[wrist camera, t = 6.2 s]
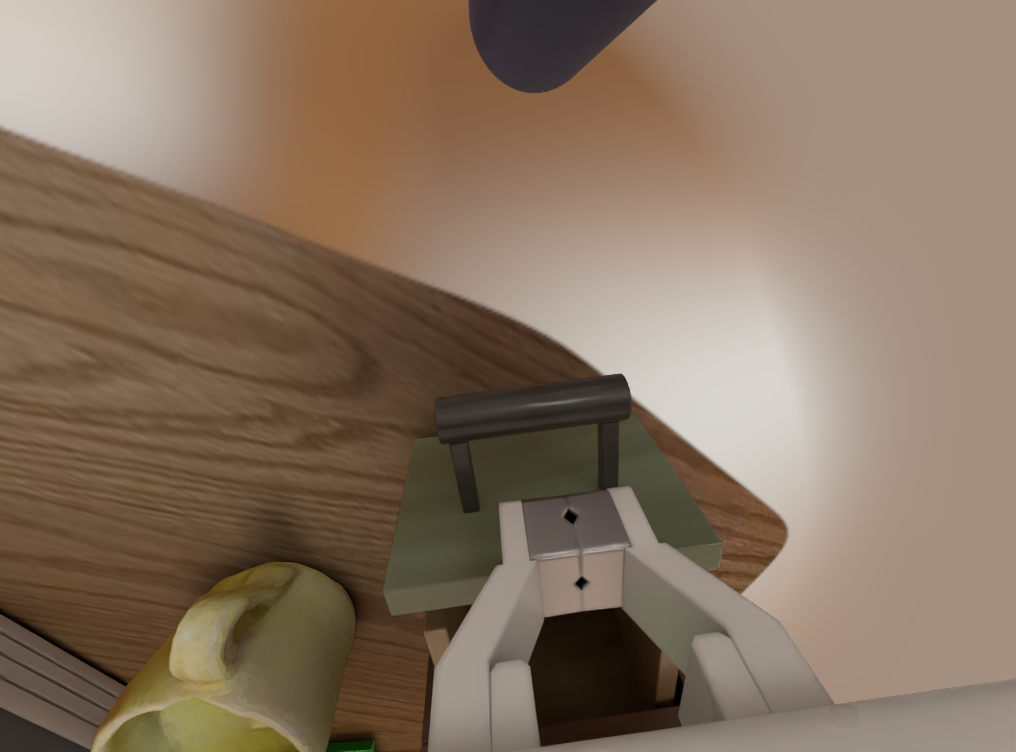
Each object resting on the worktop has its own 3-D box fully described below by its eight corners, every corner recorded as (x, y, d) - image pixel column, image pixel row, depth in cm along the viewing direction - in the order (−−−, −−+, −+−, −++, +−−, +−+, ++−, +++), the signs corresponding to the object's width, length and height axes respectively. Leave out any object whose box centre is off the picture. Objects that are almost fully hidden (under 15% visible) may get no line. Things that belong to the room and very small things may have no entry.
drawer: (391, 349, 17) (335, 472, 10) (637, 317, 17) (749, 416, 10) (456, 607, 25) (451, 778, 18) (626, 583, 25) (686, 742, 18)
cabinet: (437, 555, 24) (418, 770, 15) (632, 527, 24) (721, 723, 16) (470, 682, 30) (471, 886, 22) (626, 659, 30) (687, 851, 22)
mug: (365, 703, 27) (247, 931, 17) (227, 636, 27) (39, 818, 18) (423, 547, 24) (324, 711, 14) (270, 478, 25) (78, 589, 15)
